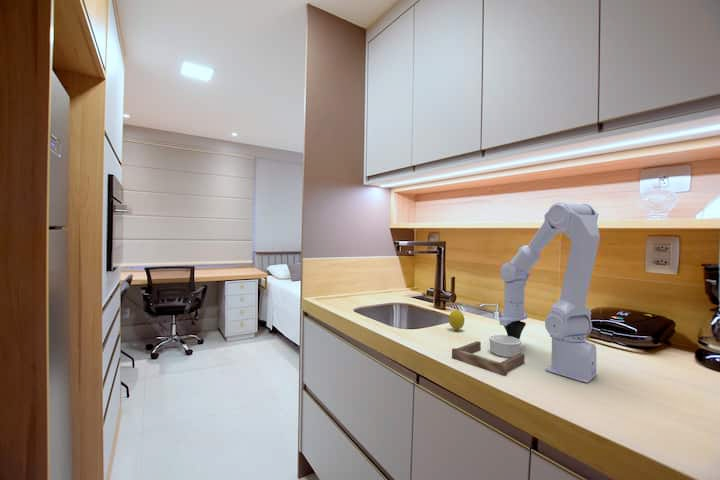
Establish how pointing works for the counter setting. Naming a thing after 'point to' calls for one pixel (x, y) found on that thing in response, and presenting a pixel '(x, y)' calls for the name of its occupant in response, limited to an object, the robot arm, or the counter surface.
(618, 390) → the counter surface
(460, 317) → the lemon
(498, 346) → the ramekin
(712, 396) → the counter surface
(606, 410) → the counter surface
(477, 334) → the counter surface
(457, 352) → the walnut rail
